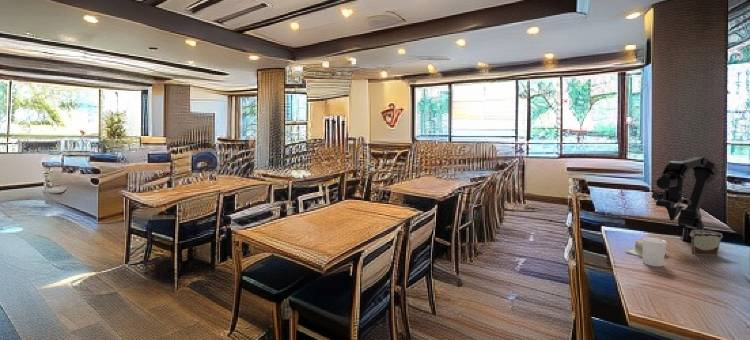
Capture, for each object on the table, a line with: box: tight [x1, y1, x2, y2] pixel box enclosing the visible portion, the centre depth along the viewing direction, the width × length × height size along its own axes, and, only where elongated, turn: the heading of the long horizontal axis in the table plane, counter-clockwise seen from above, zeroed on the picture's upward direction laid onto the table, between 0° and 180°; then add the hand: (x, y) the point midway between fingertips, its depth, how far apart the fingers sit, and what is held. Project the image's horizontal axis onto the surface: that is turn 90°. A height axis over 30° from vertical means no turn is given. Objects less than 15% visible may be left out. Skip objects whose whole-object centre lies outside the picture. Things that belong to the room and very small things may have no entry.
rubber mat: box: [625, 248, 667, 258], centre depth 169 cm, size 14×9×1 cm, turn 115°
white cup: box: [642, 237, 668, 267], centre depth 155 cm, size 8×8×10 cm
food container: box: [690, 229, 724, 256], centre depth 170 cm, size 12×6×10 cm, turn 84°
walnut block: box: [634, 238, 643, 254], centre depth 170 cm, size 5×5×12 cm
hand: (671, 220), depth 181 cm, fingers closed
